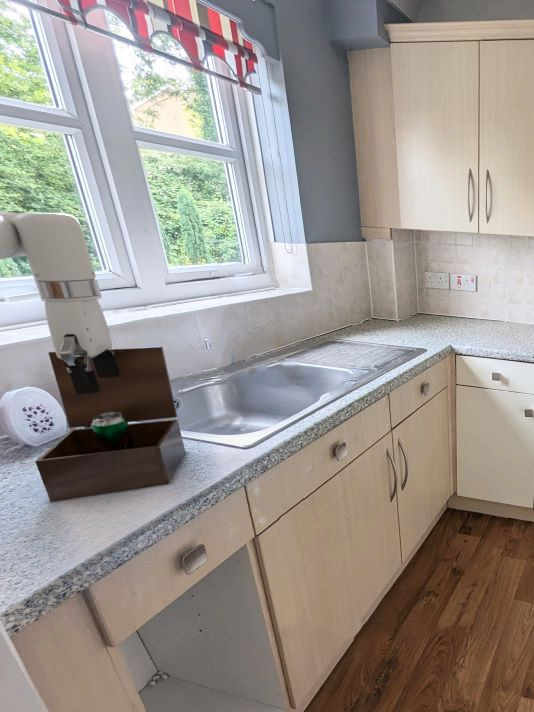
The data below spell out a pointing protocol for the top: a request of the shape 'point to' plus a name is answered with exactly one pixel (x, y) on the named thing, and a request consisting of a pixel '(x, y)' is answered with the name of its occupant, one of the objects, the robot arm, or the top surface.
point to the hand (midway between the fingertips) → (99, 384)
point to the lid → (121, 388)
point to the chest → (111, 461)
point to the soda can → (112, 432)
